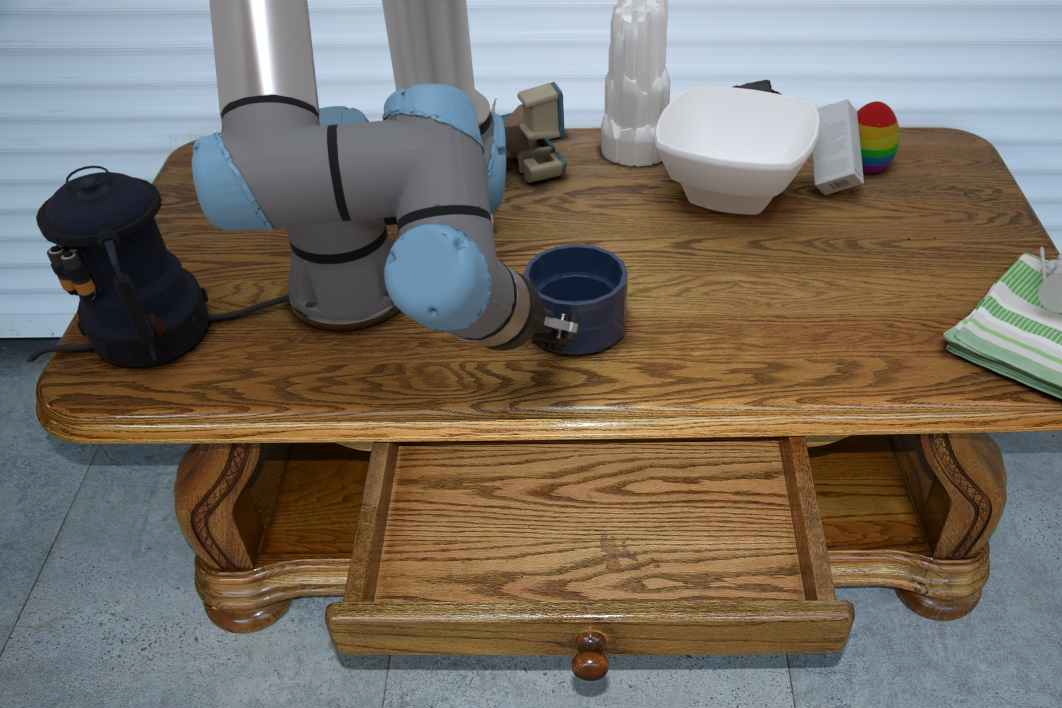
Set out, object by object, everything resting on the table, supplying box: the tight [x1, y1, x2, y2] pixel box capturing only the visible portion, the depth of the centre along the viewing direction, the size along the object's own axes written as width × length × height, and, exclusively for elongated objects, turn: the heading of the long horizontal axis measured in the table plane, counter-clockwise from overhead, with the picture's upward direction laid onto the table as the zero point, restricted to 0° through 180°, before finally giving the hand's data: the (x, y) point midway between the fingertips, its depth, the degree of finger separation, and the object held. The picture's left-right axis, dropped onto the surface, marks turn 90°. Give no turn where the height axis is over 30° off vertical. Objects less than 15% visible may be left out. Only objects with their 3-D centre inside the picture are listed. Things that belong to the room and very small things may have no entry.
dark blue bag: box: [35, 165, 210, 368], centre depth 106 cm, size 15×21×20 cm
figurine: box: [1038, 246, 1062, 313], centre depth 116 cm, size 5×5×12 cm
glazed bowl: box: [522, 243, 629, 356], centre depth 113 cm, size 12×12×8 cm
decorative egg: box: [856, 100, 901, 174], centre depth 140 cm, size 8×8×10 cm
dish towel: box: [942, 252, 1062, 400], centre depth 113 cm, size 18×23×3 cm
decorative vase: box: [600, 0, 671, 167], centre depth 139 cm, size 11×11×25 cm
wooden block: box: [504, 103, 538, 151], centre depth 140 cm, size 4×4×8 cm
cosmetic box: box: [811, 98, 865, 196], centre depth 136 cm, size 6×4×12 cm
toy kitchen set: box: [499, 81, 568, 184], centre depth 141 cm, size 18×14×11 cm
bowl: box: [653, 85, 820, 216], centre depth 133 cm, size 22×22×12 cm
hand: (557, 338), depth 108 cm, fingers closed
